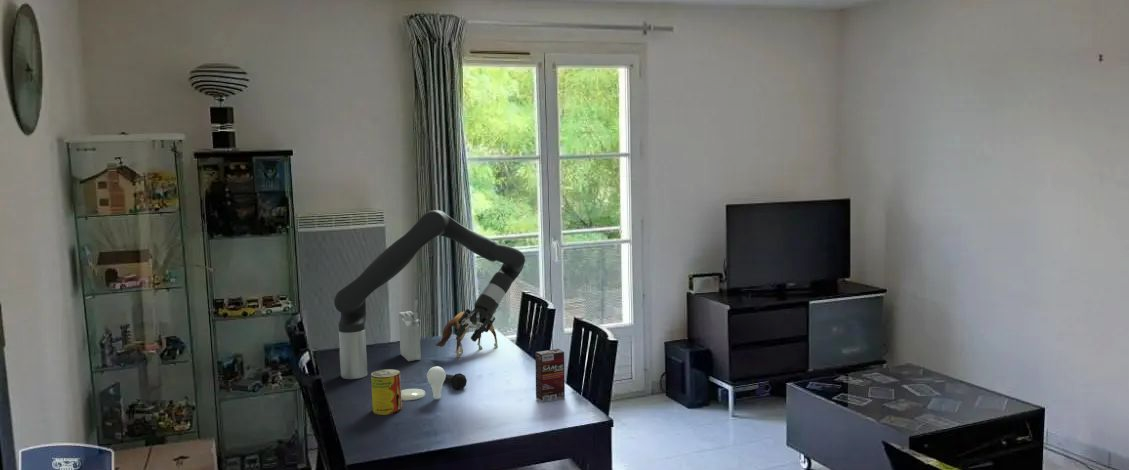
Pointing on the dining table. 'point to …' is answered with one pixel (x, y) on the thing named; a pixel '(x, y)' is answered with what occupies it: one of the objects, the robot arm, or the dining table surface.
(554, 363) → the supplement box
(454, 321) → the horse figurine
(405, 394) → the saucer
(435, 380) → the lightbulb
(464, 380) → the microphone
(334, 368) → the dining table surface
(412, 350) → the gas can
